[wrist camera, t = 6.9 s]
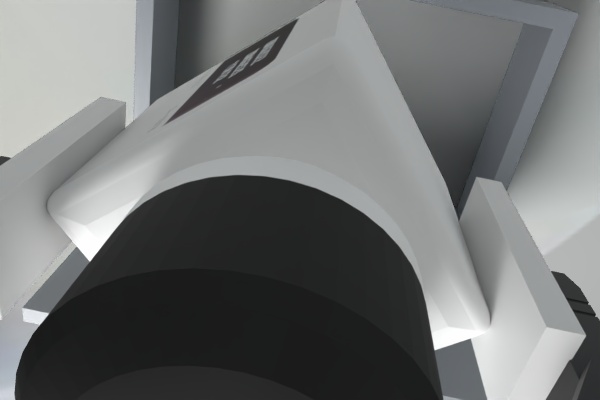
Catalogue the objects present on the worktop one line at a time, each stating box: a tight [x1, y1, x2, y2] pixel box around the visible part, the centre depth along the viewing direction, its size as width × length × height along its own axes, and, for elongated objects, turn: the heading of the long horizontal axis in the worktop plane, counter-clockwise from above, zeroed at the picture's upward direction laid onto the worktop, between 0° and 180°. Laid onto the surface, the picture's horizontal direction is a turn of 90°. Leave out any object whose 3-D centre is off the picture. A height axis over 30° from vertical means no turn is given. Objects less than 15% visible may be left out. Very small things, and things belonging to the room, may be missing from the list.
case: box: [22, 0, 579, 400], centre depth 29 cm, size 17×25×18 cm
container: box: [15, 0, 490, 400], centre depth 13 cm, size 8×8×13 cm
